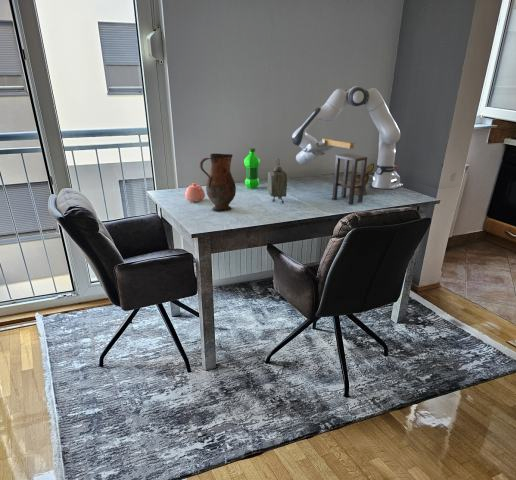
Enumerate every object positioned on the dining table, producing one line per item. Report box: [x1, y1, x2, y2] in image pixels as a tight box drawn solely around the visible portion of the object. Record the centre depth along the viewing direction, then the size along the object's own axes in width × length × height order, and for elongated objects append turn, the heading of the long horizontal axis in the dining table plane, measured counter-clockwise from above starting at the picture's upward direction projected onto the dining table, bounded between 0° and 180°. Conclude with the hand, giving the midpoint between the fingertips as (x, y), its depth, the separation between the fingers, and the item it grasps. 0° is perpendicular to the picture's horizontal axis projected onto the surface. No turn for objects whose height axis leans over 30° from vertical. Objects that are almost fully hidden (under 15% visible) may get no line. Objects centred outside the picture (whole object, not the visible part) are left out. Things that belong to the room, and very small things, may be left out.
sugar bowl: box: [184, 182, 206, 203], centre depth 287 cm, size 12×14×10 cm
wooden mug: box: [354, 162, 375, 196], centre depth 303 cm, size 9×14×18 cm, turn 115°
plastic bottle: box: [243, 147, 261, 190], centre depth 313 cm, size 10×10×25 cm
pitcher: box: [199, 153, 237, 212], centre depth 264 cm, size 17×21×30 cm
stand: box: [332, 152, 368, 205], centre depth 284 cm, size 10×16×26 cm, turn 37°
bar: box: [321, 137, 355, 150], centre depth 284 cm, size 3×24×3 cm, turn 37°
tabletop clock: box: [267, 157, 288, 204], centre depth 282 cm, size 14×9×25 cm, turn 9°
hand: (328, 140), depth 289 cm, fingers closed on bar, 3 cm apart
